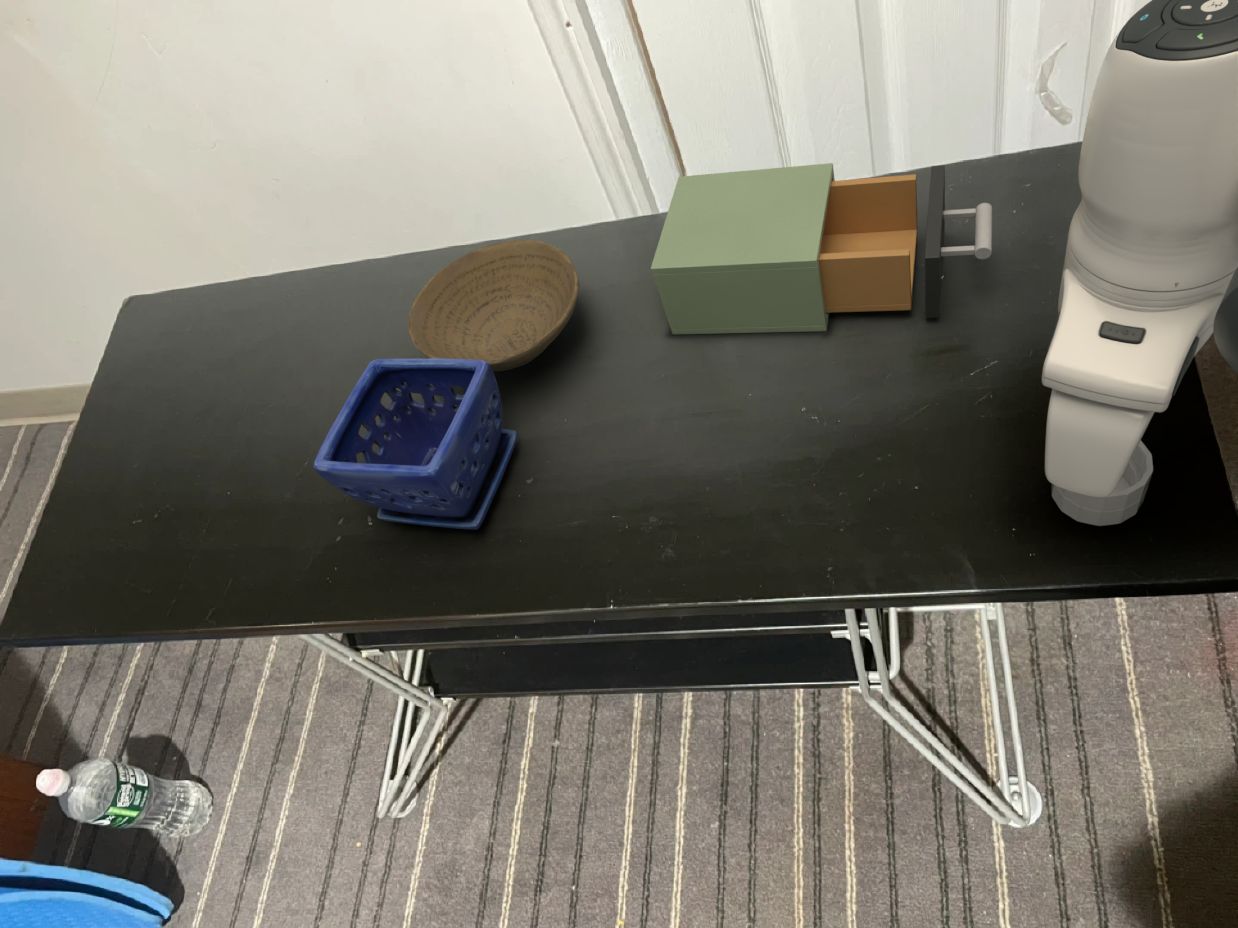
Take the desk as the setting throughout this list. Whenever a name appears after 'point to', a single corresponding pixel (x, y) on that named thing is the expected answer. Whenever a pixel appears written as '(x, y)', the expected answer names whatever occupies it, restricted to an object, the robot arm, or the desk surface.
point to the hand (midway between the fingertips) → (1111, 423)
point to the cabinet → (745, 251)
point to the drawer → (889, 243)
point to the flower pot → (421, 442)
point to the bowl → (496, 304)
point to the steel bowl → (1111, 495)
